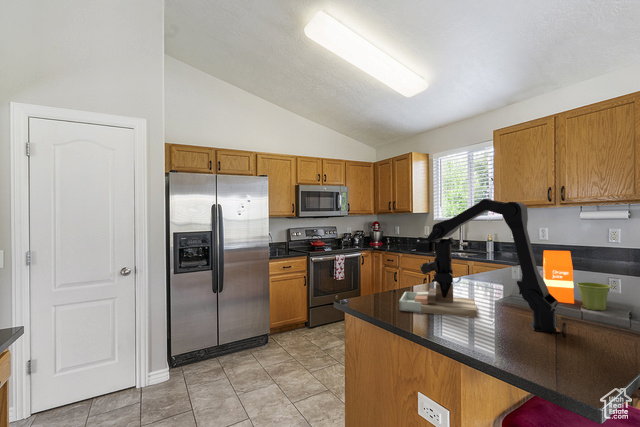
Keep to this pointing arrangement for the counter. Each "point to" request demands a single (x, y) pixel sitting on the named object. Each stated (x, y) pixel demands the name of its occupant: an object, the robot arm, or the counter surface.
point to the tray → (409, 302)
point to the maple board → (452, 307)
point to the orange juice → (559, 275)
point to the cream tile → (422, 293)
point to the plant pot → (594, 295)
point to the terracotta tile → (421, 299)
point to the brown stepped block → (439, 294)
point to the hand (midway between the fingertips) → (444, 296)
